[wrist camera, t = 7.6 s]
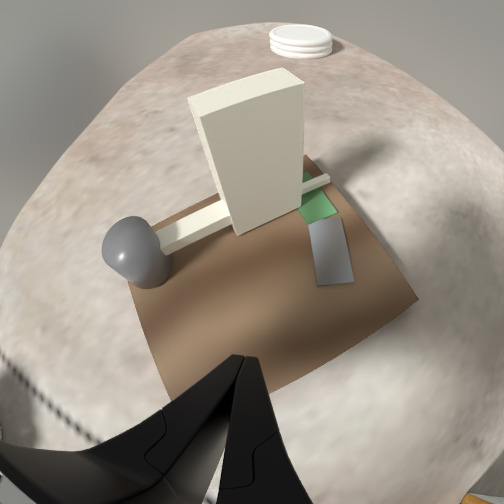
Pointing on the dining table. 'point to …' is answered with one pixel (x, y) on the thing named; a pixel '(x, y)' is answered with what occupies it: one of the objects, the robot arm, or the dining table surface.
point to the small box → (482, 499)
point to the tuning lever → (228, 172)
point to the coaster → (301, 41)
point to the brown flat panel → (271, 293)
